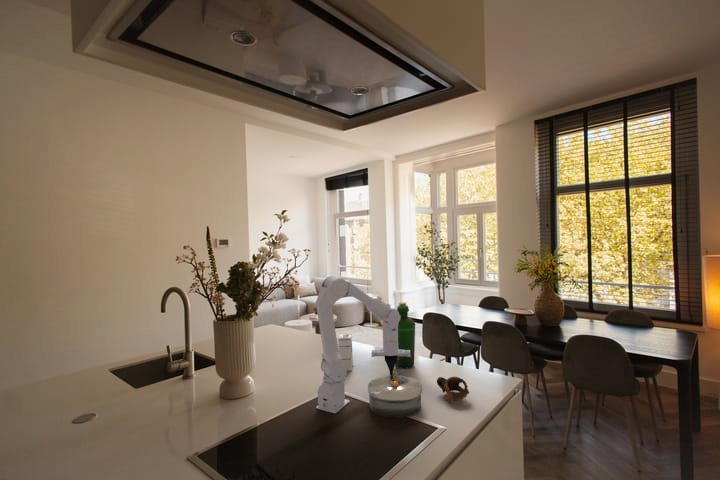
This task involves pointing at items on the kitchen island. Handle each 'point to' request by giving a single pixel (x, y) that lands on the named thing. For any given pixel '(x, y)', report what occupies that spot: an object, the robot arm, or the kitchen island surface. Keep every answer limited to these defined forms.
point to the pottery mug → (453, 388)
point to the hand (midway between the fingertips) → (391, 375)
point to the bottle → (405, 337)
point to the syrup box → (346, 350)
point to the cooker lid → (395, 388)
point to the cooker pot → (395, 407)
